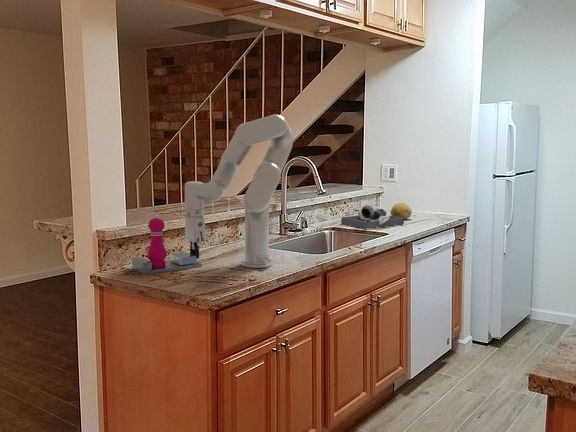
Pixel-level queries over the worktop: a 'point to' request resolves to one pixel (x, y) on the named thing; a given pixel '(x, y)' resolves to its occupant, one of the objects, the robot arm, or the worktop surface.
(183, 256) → the jaw
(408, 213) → the potato
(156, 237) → the pepper mill
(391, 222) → the bucket tray
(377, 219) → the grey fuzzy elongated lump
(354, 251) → the worktop surface
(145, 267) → the vise
